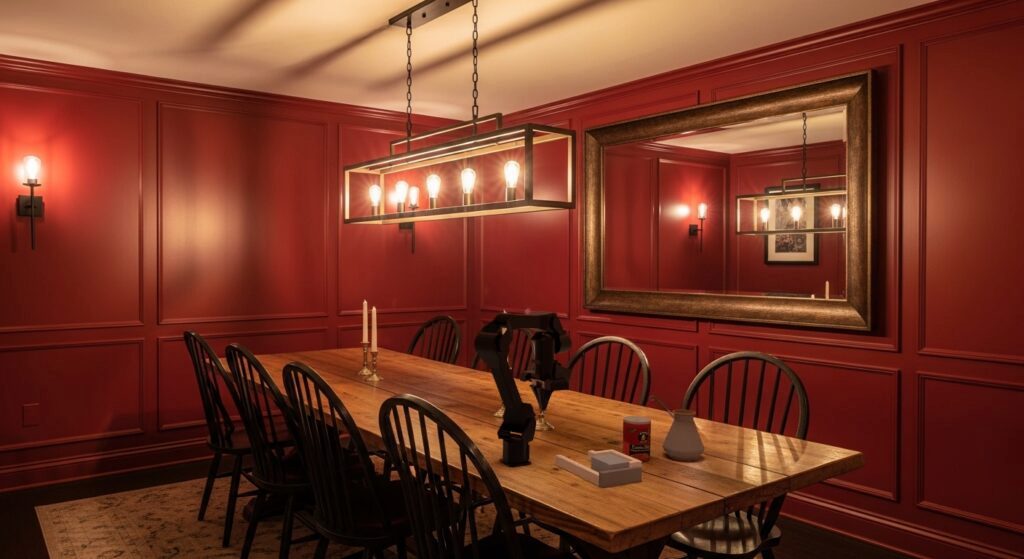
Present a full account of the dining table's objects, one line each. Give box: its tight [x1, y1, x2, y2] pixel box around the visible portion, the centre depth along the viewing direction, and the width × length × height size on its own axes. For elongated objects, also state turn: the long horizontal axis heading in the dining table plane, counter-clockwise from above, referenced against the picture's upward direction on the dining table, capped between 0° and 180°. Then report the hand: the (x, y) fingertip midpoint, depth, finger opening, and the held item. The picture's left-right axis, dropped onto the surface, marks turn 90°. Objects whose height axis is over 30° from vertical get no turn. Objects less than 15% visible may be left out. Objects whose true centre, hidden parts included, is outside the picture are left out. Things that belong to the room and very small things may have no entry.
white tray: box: [555, 448, 643, 489], centre depth 186 cm, size 18×22×4 cm
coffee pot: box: [649, 394, 705, 462], centre depth 205 cm, size 21×12×15 cm, turn 24°
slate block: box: [590, 454, 630, 473], centre depth 180 cm, size 6×8×5 cm
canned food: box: [622, 415, 652, 462], centre depth 199 cm, size 8×8×11 cm
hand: (543, 410), depth 203 cm, fingers closed
